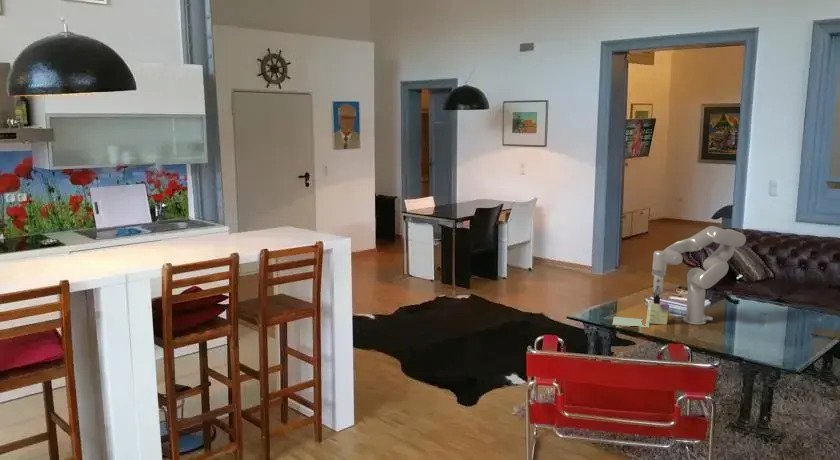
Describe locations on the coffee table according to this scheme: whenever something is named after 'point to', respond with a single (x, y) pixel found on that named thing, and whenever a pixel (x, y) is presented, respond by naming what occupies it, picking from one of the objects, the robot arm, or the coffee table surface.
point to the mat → (629, 322)
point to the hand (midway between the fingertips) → (656, 301)
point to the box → (657, 313)
